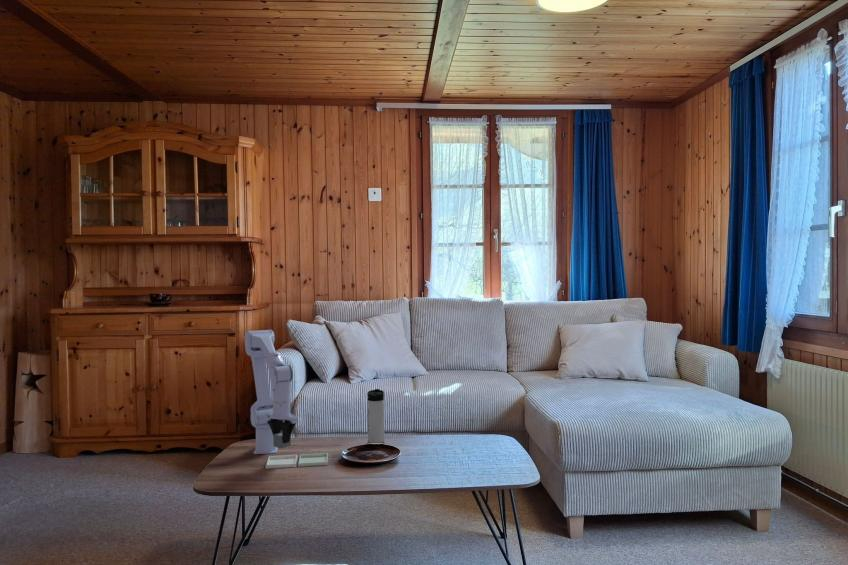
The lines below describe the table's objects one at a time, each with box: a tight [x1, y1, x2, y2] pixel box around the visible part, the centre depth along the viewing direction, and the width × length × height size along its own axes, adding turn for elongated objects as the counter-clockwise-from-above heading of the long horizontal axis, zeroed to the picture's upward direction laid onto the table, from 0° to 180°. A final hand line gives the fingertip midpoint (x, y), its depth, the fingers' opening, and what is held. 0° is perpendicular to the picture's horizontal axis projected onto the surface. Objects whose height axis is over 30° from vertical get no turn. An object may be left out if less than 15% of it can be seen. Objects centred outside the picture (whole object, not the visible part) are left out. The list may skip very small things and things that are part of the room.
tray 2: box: [297, 452, 329, 468], centre depth 191 cm, size 10×10×1 cm
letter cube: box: [273, 431, 292, 449], centre depth 189 cm, size 4×4×4 cm
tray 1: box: [265, 454, 299, 470], centre depth 189 cm, size 10×10×1 cm
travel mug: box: [366, 388, 385, 444], centre depth 211 cm, size 6×7×20 cm
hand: (281, 441), depth 189 cm, fingers closed on letter cube, 4 cm apart
